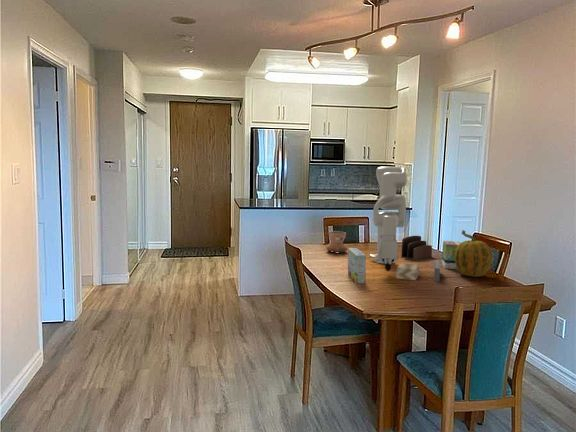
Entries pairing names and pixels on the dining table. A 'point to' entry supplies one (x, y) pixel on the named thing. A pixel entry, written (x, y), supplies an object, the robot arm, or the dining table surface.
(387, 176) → the robot arm
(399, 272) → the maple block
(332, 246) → the brown piece
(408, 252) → the letter holder
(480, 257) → the pumpkin
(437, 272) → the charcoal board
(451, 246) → the tea box
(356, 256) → the snack box
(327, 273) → the dining table surface
